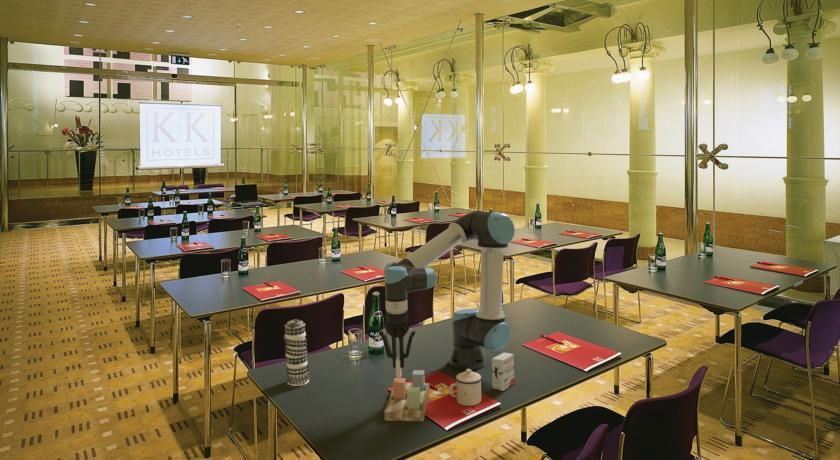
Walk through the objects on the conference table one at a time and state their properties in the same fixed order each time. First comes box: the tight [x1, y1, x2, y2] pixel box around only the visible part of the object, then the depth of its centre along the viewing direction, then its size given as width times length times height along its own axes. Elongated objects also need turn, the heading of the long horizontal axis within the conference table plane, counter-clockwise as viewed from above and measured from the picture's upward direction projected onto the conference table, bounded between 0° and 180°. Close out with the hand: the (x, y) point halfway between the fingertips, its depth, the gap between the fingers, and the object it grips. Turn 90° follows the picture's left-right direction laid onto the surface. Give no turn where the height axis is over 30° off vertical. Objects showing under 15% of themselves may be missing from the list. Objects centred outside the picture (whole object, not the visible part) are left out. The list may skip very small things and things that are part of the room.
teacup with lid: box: [448, 369, 483, 407], centre depth 199 cm, size 12×9×12 cm
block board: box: [383, 382, 431, 422], centre depth 198 cm, size 13×24×3 cm, turn 174°
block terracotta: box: [392, 377, 407, 400], centre depth 198 cm, size 4×4×6 cm
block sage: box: [407, 387, 421, 410], centre depth 190 cm, size 4×4×6 cm
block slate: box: [411, 369, 426, 391], centre depth 204 cm, size 4×4×6 cm
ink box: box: [491, 352, 515, 392], centre depth 211 cm, size 8×5×12 cm, turn 140°
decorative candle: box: [283, 318, 310, 387], centre depth 219 cm, size 9×9×25 cm
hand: (398, 376), depth 197 cm, fingers closed
